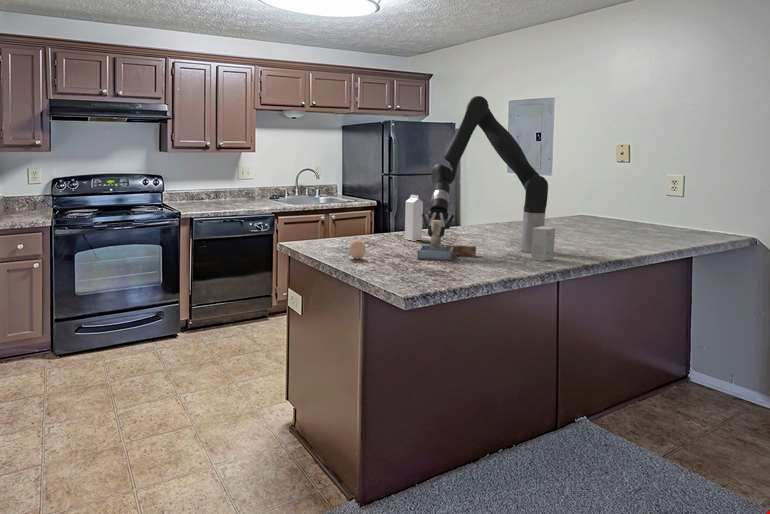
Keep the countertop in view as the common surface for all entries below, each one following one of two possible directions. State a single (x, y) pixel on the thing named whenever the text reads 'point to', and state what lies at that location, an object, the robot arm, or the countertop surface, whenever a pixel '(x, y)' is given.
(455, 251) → the block
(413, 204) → the milk
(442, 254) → the tray
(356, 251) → the egg
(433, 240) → the dowel
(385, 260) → the countertop surface
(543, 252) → the small box
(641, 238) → the countertop surface
